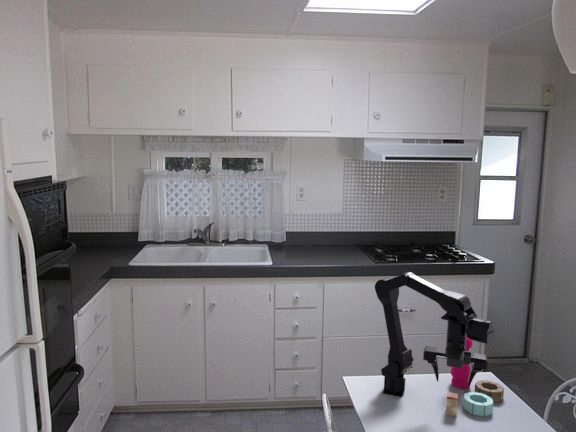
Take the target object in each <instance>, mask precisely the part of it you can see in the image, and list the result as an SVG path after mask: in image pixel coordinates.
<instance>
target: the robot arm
mask: <svg viewBox="0 0 576 432" xmlns="http://www.w3.org/2000/svg"><path fill="white" fill-rule="evenodd" d="M402 287H407V288H410V289H412V291H415V292H417V293H418V294H421V295H422V296H424V297H426V298H428V299H431V300H432V301H434V302H435V303H436V304H438V305H439V306H440V308H441V309H442V310H444V311H445V312H446V313H445V314H444V315H442V316H441V317H440V319H441V320H444V321H447V326H446V327H447V328H446V340H445V351H440V350H438V347H436V346H430V345H429V346H428V345H425V347H424V349H423V354H422V355H423V356H422V357H423V358H422V359H423V361H426V362H427V363H428V364H430V365H431V366H432V368H433V372H434V375H435V379H436V382H439V375H440V372H439V360H438V359H444V360H446V366H447V367H449V368H452V367H457V368H463V365H464V364H465V365H467V364H469V365H470V367H471V368H470V373H469V378H468V387H469V386H470V387H471V384H472V382H473V379H474V378H475V376H476V374H477V373H478V372H483V370H485V371H487V370H488V368H489V367H488V366H489V365H488V364H489V363H488V362H489V361H488V356H487V355H486V354H484V353H483V354H482V353H476V352H473V354H472V352H471V351H470V352H467V351H465V346H466V335H467V338H469V339H470V340H472V342H477V343H480V344H485V345H489V346H490V345H491V344H492V342H493V339H494V335H495V331H494V327H493V325H492V324H493V322H492V321H490V320H484V319H480V318H478V315H477V314H476V312H475V310H474V308H473V307H472V305H471V304H472V303H471V301H470V298H469V297H468V296H467V295H465V294H462V293H458V292H456V291H450V290H445V289H443V288H441V287H439V286H437V285H435V284H433V283H431V281H430V282H429V281H427V280H425V279H423V278H421V277H420V276H418V275H416V274H415V273H414V272H411V271H407V272H404V273H401V274H400V275H398V276H395V277H393V276H388V277H384V278H382V279H379V280H377V281H376V283H375V284H374V290H375V294H376V297H377V300H379V302H380V304H381V305H382V309H383V314H384V320H385V326H386V331H387V336H388V343H389V348H388V349H389V350H388V354H387V364H386V365H385V366H384V367H382V368H381V370H380V371H381V375H382V377H384V379H383V390H382V393H383V394H385V395H386V394H387V395H392V396H397V397H403V394H404V393H405V392H406V378H405V374H406V373H407V371H408V370H409V369H410V368H411V367H412V366H413V362H414V361H415V360H414V357H413V351H412V350H413V349H412V348H408V347H406V345H405V341H404V337H403V330H402V323H401V319H400V313H399V307H398V300H399V296H400V288H402ZM470 387H469V388H470Z"/></svg>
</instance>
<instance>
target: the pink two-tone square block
mask: <svg viewBox="0 0 576 432" xmlns="http://www.w3.org/2000/svg"><path fill="white" fill-rule="evenodd" d="M458 402H459V394H458V393H455V392H450V391H446V406H445V408H446V409H445V416H452V417H458V416H457V415H458Z"/></svg>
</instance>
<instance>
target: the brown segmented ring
mask: <svg viewBox="0 0 576 432" xmlns="http://www.w3.org/2000/svg"><path fill="white" fill-rule="evenodd" d="M474 392H477V393H483V394H485V395H487V396H489V397H490V398H492V399H493V403H499V402H502V401H503V400H504V392H505V388H504V387H503V386H502V385H501V384H500V383H498V382H495V381H492V380H488V379H486V380H485V379H484V380H478V381H476V382H475V383H474Z"/></svg>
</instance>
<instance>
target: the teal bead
mask: <svg viewBox="0 0 576 432" xmlns="http://www.w3.org/2000/svg"><path fill="white" fill-rule="evenodd" d="M462 403H463V404H462V405H463V409H464V411H466V412H468V413H469V414H471V415H474V416H478V417H479V416H480V417H488V416H492V415H493V413H494V412H493V409H494V402H493V399H492V398H490V397H489V396H487V395H485V394H483V393H477V392H475V391H469V392H466V393H464V394H463V402H462Z"/></svg>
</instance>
